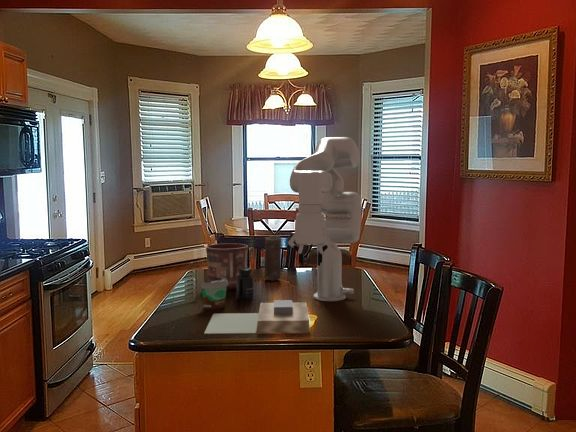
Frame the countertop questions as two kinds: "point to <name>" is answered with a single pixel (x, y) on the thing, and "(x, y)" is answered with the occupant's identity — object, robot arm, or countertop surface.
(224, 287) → the food container
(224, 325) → the mat
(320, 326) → the countertop surface
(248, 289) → the supplement bottle
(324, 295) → the robot arm
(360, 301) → the countertop surface
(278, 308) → the grey flat block
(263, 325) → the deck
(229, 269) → the pottery
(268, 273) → the candle
